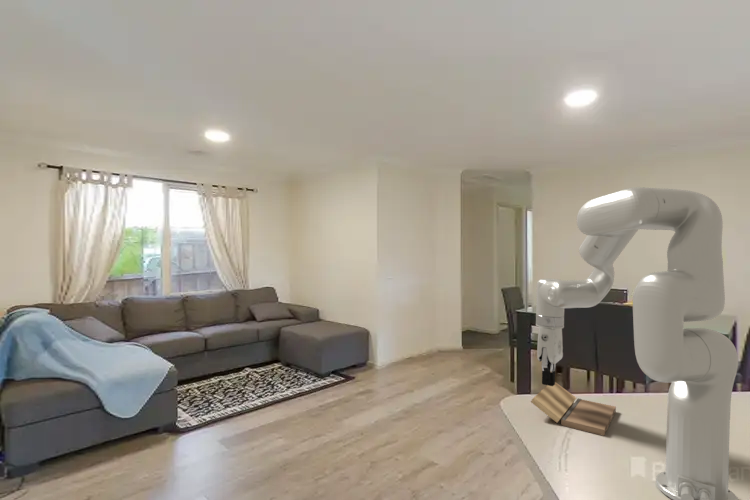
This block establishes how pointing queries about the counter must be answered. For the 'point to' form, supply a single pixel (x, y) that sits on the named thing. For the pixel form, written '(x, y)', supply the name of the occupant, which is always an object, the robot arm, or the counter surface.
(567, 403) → the oak plank
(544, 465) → the counter surface
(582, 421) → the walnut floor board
